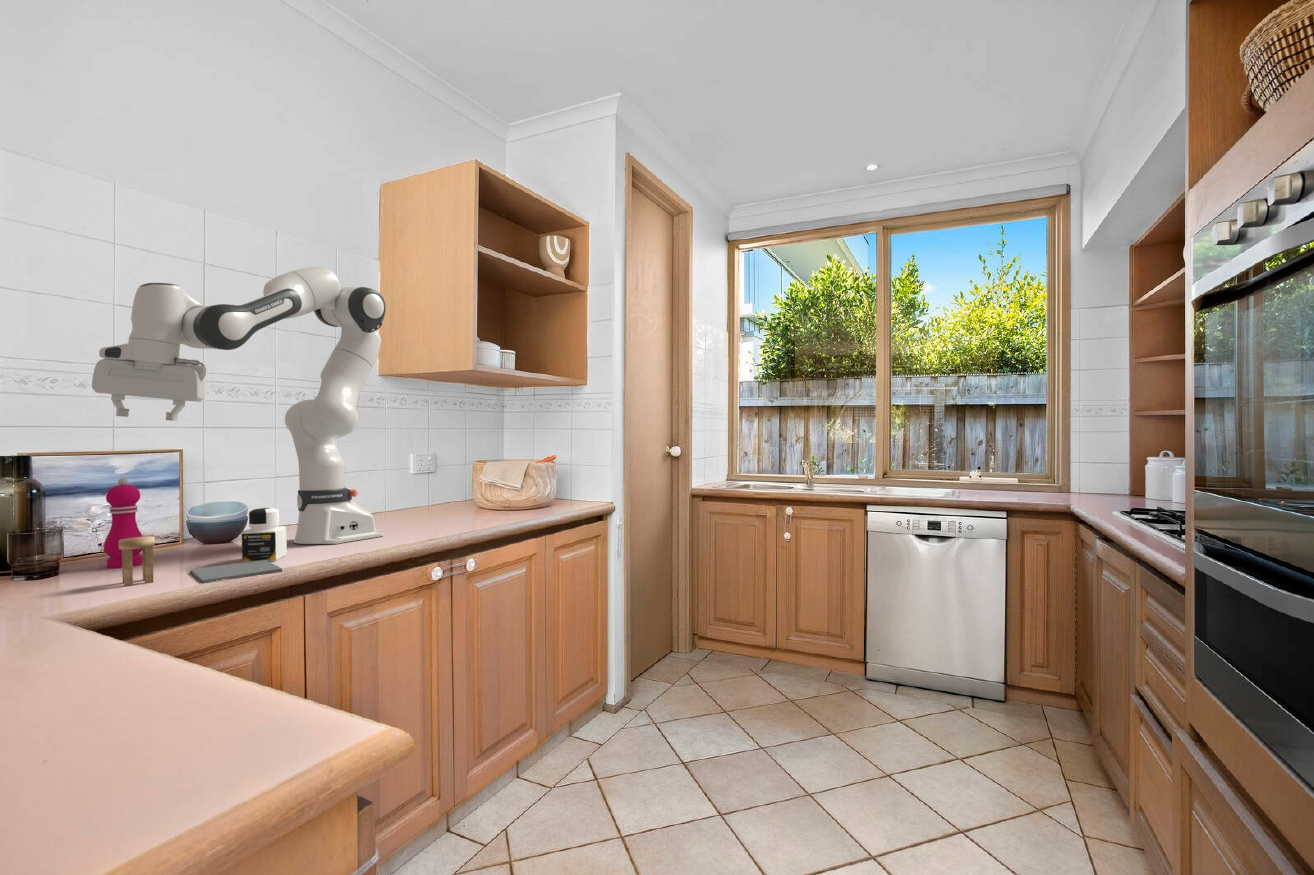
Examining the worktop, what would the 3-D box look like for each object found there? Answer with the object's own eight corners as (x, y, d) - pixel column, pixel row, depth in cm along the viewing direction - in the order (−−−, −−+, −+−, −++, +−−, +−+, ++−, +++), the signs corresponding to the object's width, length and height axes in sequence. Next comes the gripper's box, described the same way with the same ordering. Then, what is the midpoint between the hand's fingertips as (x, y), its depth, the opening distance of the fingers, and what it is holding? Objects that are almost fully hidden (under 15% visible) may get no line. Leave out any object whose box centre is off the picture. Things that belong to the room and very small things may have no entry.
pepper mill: (153, 562, 147) (151, 476, 147) (124, 568, 140) (122, 479, 140) (125, 561, 148) (123, 476, 148) (95, 568, 141) (92, 479, 140)
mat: (264, 562, 145) (264, 559, 145) (282, 571, 135) (282, 568, 135) (190, 572, 135) (190, 569, 135) (203, 583, 126) (202, 580, 125)
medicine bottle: (241, 563, 145) (240, 511, 144) (254, 557, 152) (253, 507, 151) (275, 561, 146) (274, 509, 146) (287, 555, 153) (286, 506, 153)
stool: (153, 577, 131) (152, 535, 131) (157, 582, 127) (156, 538, 127) (118, 582, 127) (117, 539, 127) (121, 587, 123) (120, 542, 123)
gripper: (213, 362, 143) (207, 423, 142) (109, 352, 139) (103, 414, 138) (199, 359, 137) (192, 422, 136) (90, 348, 132) (83, 413, 132)
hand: (146, 418), depth 137 cm, fingers open, 8 cm apart
